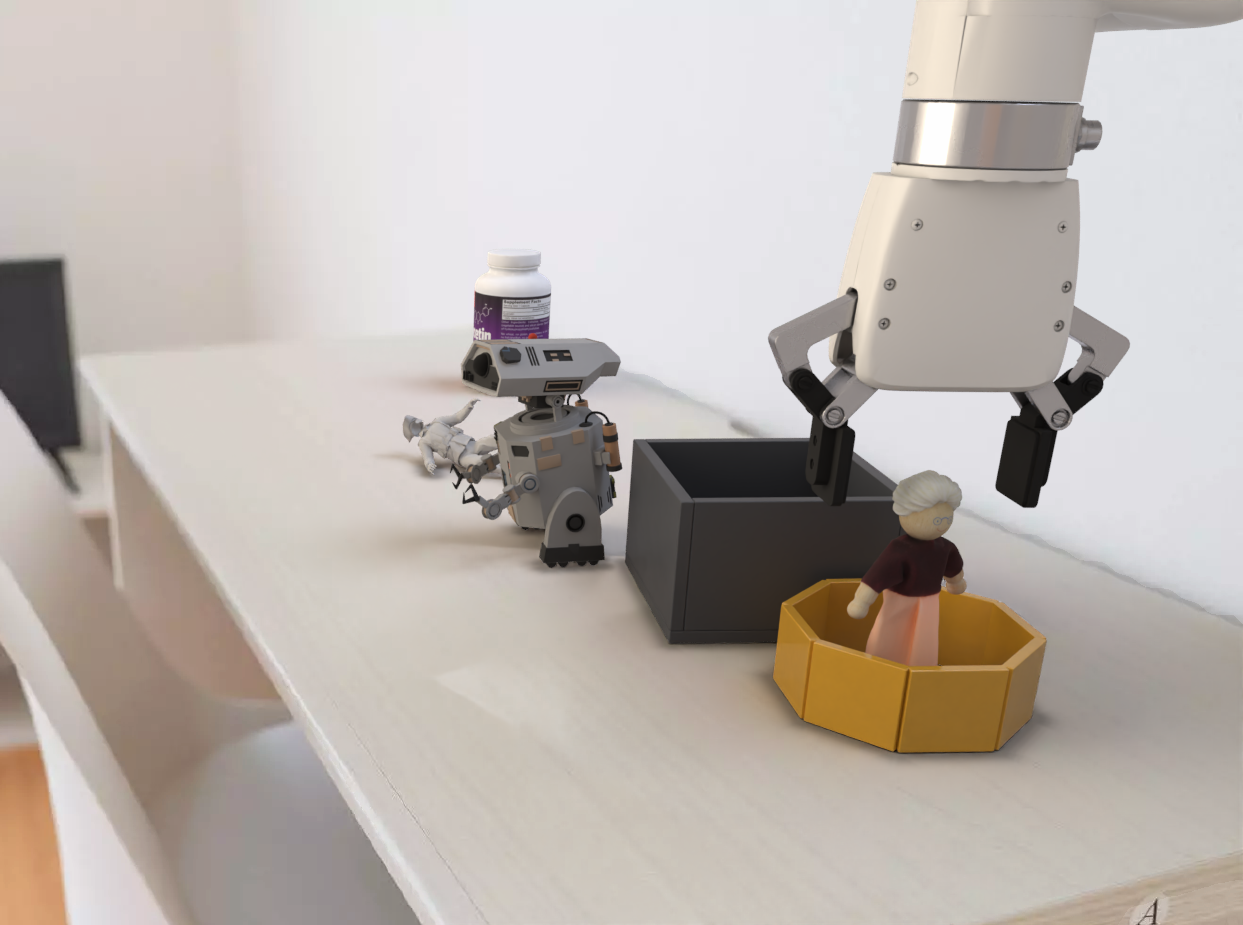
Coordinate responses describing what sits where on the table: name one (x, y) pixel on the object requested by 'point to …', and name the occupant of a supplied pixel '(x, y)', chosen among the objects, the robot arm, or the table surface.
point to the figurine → (548, 441)
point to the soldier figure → (449, 439)
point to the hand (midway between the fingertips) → (921, 499)
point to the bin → (744, 532)
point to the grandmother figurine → (913, 573)
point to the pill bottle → (512, 297)
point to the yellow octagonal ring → (909, 673)
